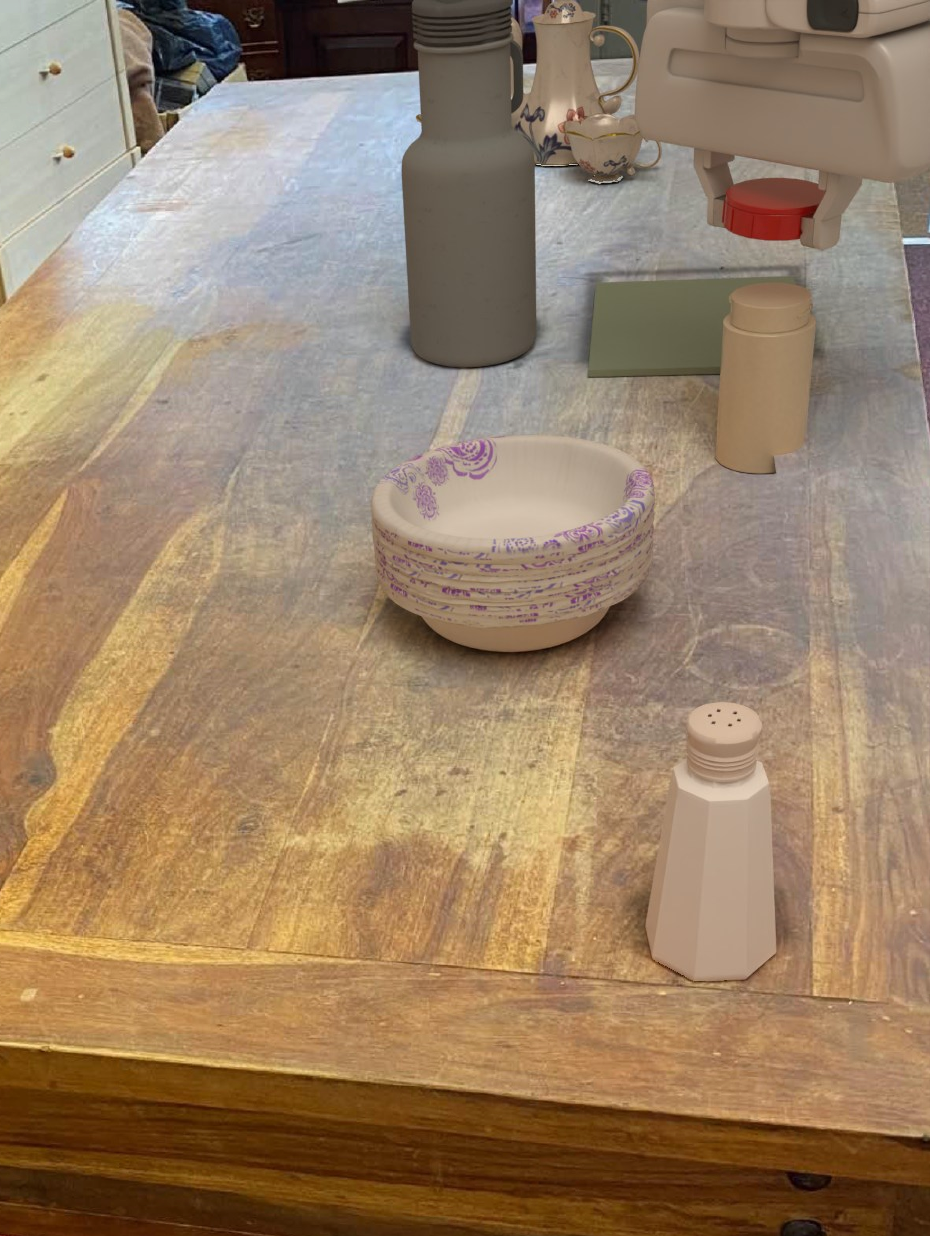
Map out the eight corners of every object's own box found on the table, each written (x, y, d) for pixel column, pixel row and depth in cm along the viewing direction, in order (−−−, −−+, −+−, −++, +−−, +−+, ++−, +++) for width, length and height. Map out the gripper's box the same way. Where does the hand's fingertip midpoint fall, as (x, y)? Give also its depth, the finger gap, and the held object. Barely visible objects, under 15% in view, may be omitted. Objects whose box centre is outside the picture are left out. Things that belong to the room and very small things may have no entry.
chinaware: (396, 190, 171) (378, 23, 161) (468, 134, 182) (455, -26, 171) (644, 209, 158) (642, 28, 148) (707, 147, 168) (709, -26, 158)
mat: (793, 282, 132) (793, 275, 132) (812, 372, 117) (813, 364, 116) (595, 289, 135) (595, 282, 135) (587, 377, 119) (587, 369, 119)
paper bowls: (453, 536, 100) (448, 413, 95) (690, 577, 93) (696, 447, 88) (329, 651, 89) (316, 520, 85) (586, 707, 83) (587, 567, 78)
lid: (778, 248, 94) (782, 215, 92) (701, 224, 98) (704, 193, 96) (848, 224, 96) (852, 192, 95) (770, 202, 100) (774, 171, 99)
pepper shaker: (627, 969, 66) (634, 744, 60) (661, 890, 70) (670, 671, 64) (762, 998, 64) (783, 768, 58) (789, 915, 68) (811, 691, 62)
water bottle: (433, 322, 132) (414, -62, 116) (550, 326, 129) (548, -69, 113) (395, 367, 124) (370, -38, 108) (519, 373, 121) (512, -44, 105)
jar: (800, 438, 107) (813, 278, 101) (807, 473, 103) (822, 308, 97) (713, 440, 108) (722, 281, 102) (717, 474, 104) (726, 311, 98)
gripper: (611, -22, 95) (610, 219, 103) (901, 3, 81) (874, 281, 89) (687, -40, 98) (681, 196, 106) (981, -19, 83) (948, 252, 91)
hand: (771, 235), depth 97 cm, fingers closed on lid, 6 cm apart
